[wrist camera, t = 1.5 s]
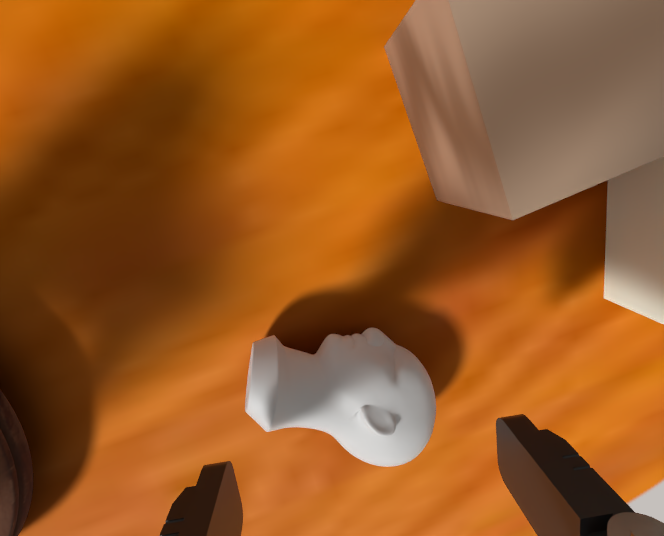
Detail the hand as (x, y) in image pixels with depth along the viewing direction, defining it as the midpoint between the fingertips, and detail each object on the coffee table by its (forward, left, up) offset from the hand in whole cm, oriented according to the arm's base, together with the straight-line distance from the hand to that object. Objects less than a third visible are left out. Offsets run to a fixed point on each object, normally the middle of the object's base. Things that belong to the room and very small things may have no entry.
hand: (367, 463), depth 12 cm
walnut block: (-10, +7, -6) cm, 14 cm away
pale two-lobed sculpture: (0, 0, -6) cm, 6 cm away
